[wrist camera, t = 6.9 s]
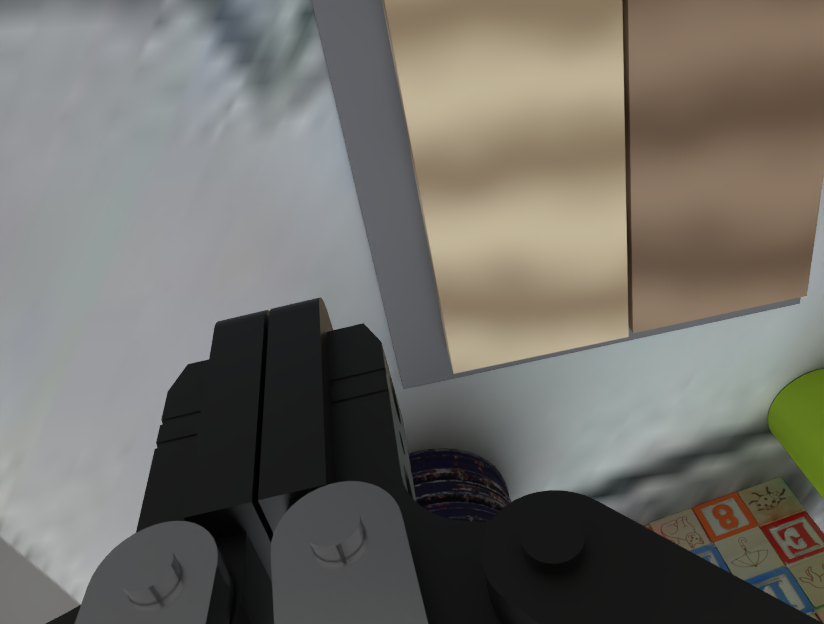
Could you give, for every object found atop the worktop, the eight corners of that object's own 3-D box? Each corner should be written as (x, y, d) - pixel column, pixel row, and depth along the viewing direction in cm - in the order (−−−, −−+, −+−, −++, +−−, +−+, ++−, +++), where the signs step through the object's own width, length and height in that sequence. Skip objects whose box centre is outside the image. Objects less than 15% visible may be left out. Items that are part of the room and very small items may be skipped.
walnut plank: (605, -179, 27) (625, -180, 26) (845, -230, 27) (880, -234, 26) (619, 312, 39) (633, 333, 38) (785, 276, 40) (806, 295, 38)
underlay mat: (270, -175, 27) (270, -176, 26) (871, -303, 27) (881, -305, 26) (402, 383, 41) (403, 389, 41) (794, 298, 41) (799, 303, 41)
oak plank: (358, -126, 27) (361, -124, 26) (600, -178, 27) (618, -178, 26) (447, 350, 39) (453, 373, 38) (615, 315, 39) (628, 336, 38)
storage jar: (384, 577, 50) (410, 828, 37) (326, 480, 44) (335, 735, 32) (526, 530, 49) (603, 770, 36) (485, 425, 43) (559, 665, 31)
